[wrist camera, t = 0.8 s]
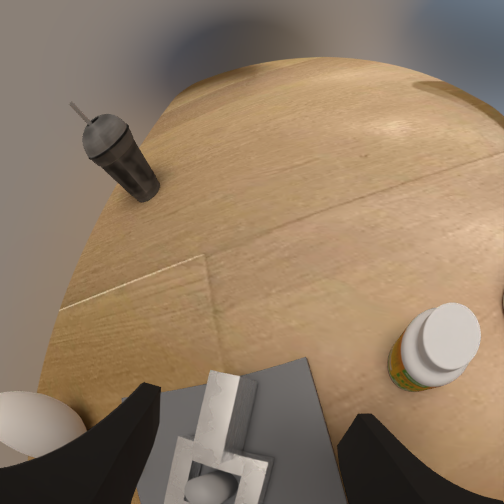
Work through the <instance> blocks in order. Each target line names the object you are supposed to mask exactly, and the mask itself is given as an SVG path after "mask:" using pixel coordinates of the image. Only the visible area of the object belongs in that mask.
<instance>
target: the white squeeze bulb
mask: <svg viewBox="0 0 504 504" xmlns="http://www.w3.org/2000/svg"><path fill="white" fill-rule="evenodd" d="M85 432H87V430H86V427H85V425H84V423H83V421H82V419H81V418H80V416H79V415H78V414H77V413H76V412H75V411H74V410H73V409H71V408H70V407H69V406H68V405H66V404H64V403H63V402H61V401H59V400H57V399H55V398H52V397H50V396H47V395H43V394H39V393H33V392H24V391H12V392H3V393H0V441H1V442H3V443H4V444H6V445H7V446H9V447H11V448H13V449H14V450H17V451H19V452H21V453H23V454H26V455H28V456H32V457H35V458H38V457H40V456H43V455H45V454H47V453H50V452H52V451H54V450H56V449H58V448H60V447H62V446H64V445H66V444H67V443H69V442H71V441H73V440H74V439H76V438H77V437H79V436H81V435H82V434H84V433H85Z"/></svg>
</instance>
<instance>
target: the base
mask: <svg viewBox="0 0 504 504" xmlns="http://www.w3.org/2000/svg"><path fill="white" fill-rule="evenodd" d="M241 377H244V378H247V379H250V380H253V381H256V382H258V384H257V388H256V393H255V398H254V402H253V407H252V411H251V416H250V420H249V425H248V429H247V434H246V438H245V442H244V447H243V451H245V452H249V453H253V454H257V455H262V456H267V457H271V458H274V462H273V466H272V470H271V474H270V478H269V482H268V485H267V489H266V493H265V497H264V500H263V504H348V503H347V500H346V496H345V492H344V488H343V484H342V480H341V477H340V473H339V469H338V465H337V462H336V458H335V454H334V451H333V447H332V444H331V440H330V436H329V433H328V429H327V426H326V422H325V419H324V415H323V412H322V408H321V405H320V401H319V398H318V394H317V391H316V387H315V384H314V380H313V377H312V374H311V370H310V367H309V364H308V360H307V358H306V357H304V358H301V359H298V360H295V361H291V362H288V363H285V364H282V365H278V366H275V367H271V368H268V369H264V370H261V371H257V372H254V373H250V374H246V375H242V376H241ZM206 386H207V384H204V385H199V386H194V387H189V388H184V389H179V390H173V391H167V392H161V396H160V424H159V427H158V431H157V435H156V438H155V442H154V445H153V448H152V450H151V453H150V455H149V458H148V460H147V462H146V465H145V467H144V471H143V472H142V475H141V477H140V479H139V482H138V484H137V490H138V494H139V498H140V502H141V504H164V500H165V495H166V490H167V485H168V481H169V476H170V471H171V466H172V462H173V457H174V452H175V448H176V443H177V439H178V436H182V435H191V436H194V437H195V433H196V429H197V425H198V420H199V416H200V412H201V407H202V403H203V399H204V395H205V390H206ZM127 398H128V397H126V398H122V402H124V401H125V400H126V399H127ZM240 480H241V476H239V475H236V474H232V473H229V472H225V471H222V470H219V469H216V468H213V467H210V466H207V465H204V464H201V469H200V473H199V477H197V478H194V479H191V480H189V481H188V482H187V483H186V485H185V488H184V493H185V496H186V498H187V500H188V501H189V502H190V503H191V504H234V503H235V499H236V496H237V492H238V488H239V484H240Z"/></svg>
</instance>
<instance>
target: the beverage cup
mask: <svg viewBox="0 0 504 504" xmlns="http://www.w3.org/2000/svg"><path fill="white" fill-rule="evenodd" d="M69 105H70V106H71V107H72V108H73V109H74V110H75V111H76V112H77V113H78V114H79V115H80V116H81V117H82V118H83V120H85V122H86V123H87V124H88V125H87V126H86V128H85V130H84V133H83V146H84V149H85V151H86V154H87V155H88V157H89V159H90V160H92V161H93V162H94V163H96V164H97V165H98V166H101V167H102V168H103V169H104V170H105V171H106V172H107V173H108V174H109V175H110V176H111V177H112V178H113V179H114V180H115V181H117V182H118V183H119V184H120V185H121V186H122V187H123V188H124V189H125V190H126V191H127V192H128V193H129V194H131V195H132V196H133V197H134V198H136V199H137V200H138V201H139V202H146V201H148V200H150V199H151V198H152V197H154V196H155V195H156V193H157V192H158V190H159V188H160V183H159V182H158V180H157V178H156V176H155V174H154V173H153V171H152V169H151V168H150V166H149V164H148V163H147V161H146V159H145V158H144V156H143V154H142V153H141V151H140V149H139V148H138V146H137V144H136V142H135V141H134V139H133V136H132V133H131V131H130V129H129V126H128V125H127V124H126V123H125V122H124V121H122V119H120V118H119V117H117V116H115V115H111V114H104V115H100V116H97V117H95V118H94V119H92V120H91V121H90V120H89V119H88V118H87V117H86V116H85V115H84V114H83V113H82V112H81V111H80V110H79V109H78V108H77V106H76V105H75V104H74V103H73V102H71V103H70V104H69Z"/></svg>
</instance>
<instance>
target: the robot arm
mask: <svg viewBox="0 0 504 504" xmlns="http://www.w3.org/2000/svg"><path fill="white" fill-rule="evenodd" d="M160 396H161V387H159V386H155V385H152V384H148V383H145V382H144V383H142V384H140V385H139V387H138V388H137V389H136V390H135V391H134V392H133V393H132V394H131V395H130V396H129V397H128V398H127V399H126V400H125V401H124V402H122V403H121V404H120V405H119V406H118V407H117V408H116V409H115V410H113V411H112V412H111V413H110V414H109V415H108V416H106V417H105V418H104V419H103V420H101V421H100V422H99V423H97V424H96V425H95V426H93V427H92V428H91V429H89V430H88V431H87V432H85V433H84V434H82V435H81V436H79V437H77V438H76V439H74V440H73V441H71V442H69V443H67V444H66V445H64V446H62V447H60V448H58V449H56V450H54V451H52V452H50V453H47V454H45V455H43V456H40V457H38V458H35V459H32V460H29V461H26V462H23V463H20V464H17V465H13V466H10V467H4V468H0V504H131V501H132V497H133V495H134V492H135V489H136V487H137V484H138V482H139V479H140V477H141V475H142V472H143V470H144V467H145V465H146V462H147V460H148V458H149V455H150V453H151V450H152V448H153V445H154V442H155V438H156V435H157V431H158V427H159V424H160ZM337 447H338V459H339V467H340V471H341V475H342V479H343V483H344V487H345V491H346V494H347V498H348V502H349V504H504V502H503V501H501V500H496V499H492V498H488V497H484V496H481V495H478V494H475V493H473V492H470V491H468V490H465V489H463V488H461V487H459V486H457V485H455V484H453V483H451V482H450V481H448V480H446V479H445V478H443V477H442V476H440V475H439V474H437V473H436V472H434V471H433V470H431V469H430V468H429V467H427V466H426V465H425V464H424V463H423V462H421V461H420V460H419V459H418V458H417V457H415V456H414V455H413V454H412V453H411V452H410V451H409V450H408V449H407V448H406V447H405V446H404V445H403V444H402V443H401V442H400V441H399V440H398V439H397V438H396V437H395V436H394V435H393V434H392V433H391V432H390V431H389V430H388V429H387V428H386V427H385V426H384V425H383V424H382V423H381V422H380V421H379V420H378V419H377V418H376V417H375V416H374V415H372V414H358V415H357V416H356V418H355V419H354V421H353V423H352V424H351V426H350V427H349V429H348V430H347V432H346V433H345V435H344V436H343V438H342V439H341V441H340V442H339V444H338V445H337Z"/></svg>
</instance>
